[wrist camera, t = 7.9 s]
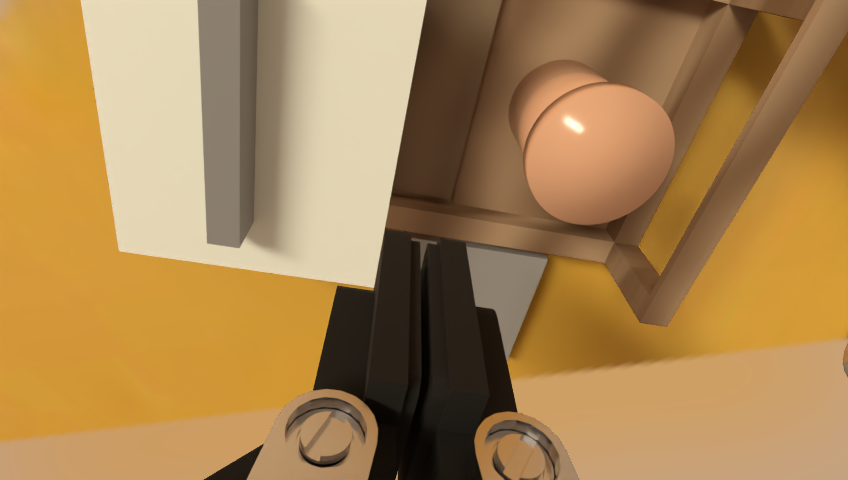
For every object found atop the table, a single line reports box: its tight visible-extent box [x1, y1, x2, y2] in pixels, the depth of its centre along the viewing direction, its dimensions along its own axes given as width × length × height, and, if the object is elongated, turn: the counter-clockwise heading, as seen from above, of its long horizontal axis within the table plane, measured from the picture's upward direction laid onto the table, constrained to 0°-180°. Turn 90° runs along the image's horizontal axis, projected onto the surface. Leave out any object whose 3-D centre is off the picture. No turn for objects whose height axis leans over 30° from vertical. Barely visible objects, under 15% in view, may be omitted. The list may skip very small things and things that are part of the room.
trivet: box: [406, 231, 548, 360], centre depth 33 cm, size 9×9×2 cm
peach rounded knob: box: [508, 60, 675, 225], centre depth 23 cm, size 6×6×7 cm
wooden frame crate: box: [385, 0, 848, 327], centre depth 23 cm, size 22×16×8 cm
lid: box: [81, 0, 427, 288], centre depth 17 cm, size 11×15×3 cm
